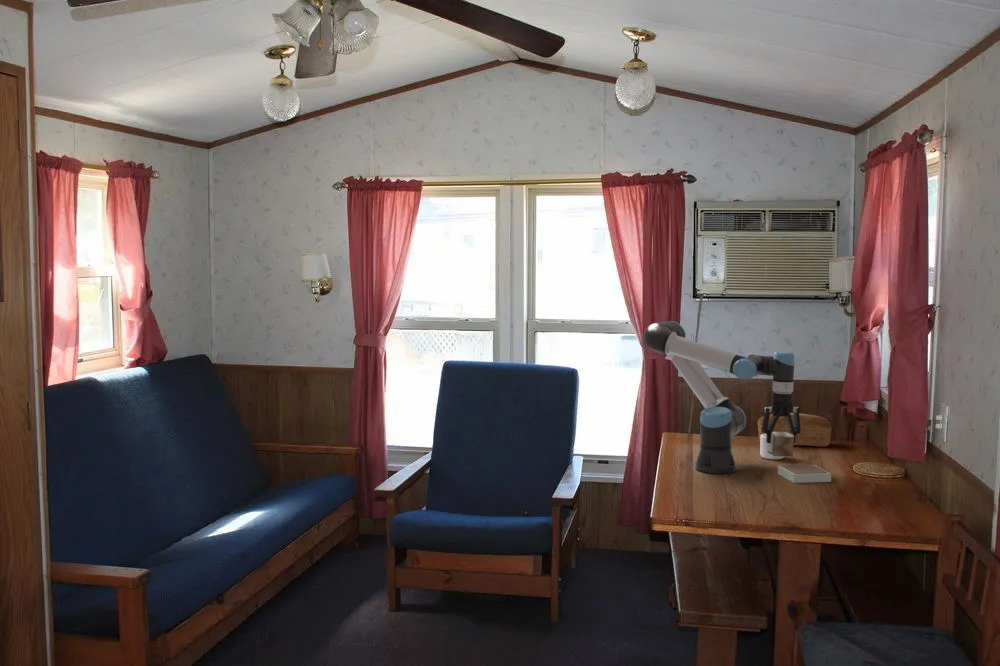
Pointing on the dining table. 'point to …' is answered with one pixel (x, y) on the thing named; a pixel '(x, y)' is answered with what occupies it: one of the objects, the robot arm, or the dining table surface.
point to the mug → (766, 449)
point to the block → (782, 444)
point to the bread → (804, 429)
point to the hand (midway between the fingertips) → (780, 451)
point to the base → (804, 473)
